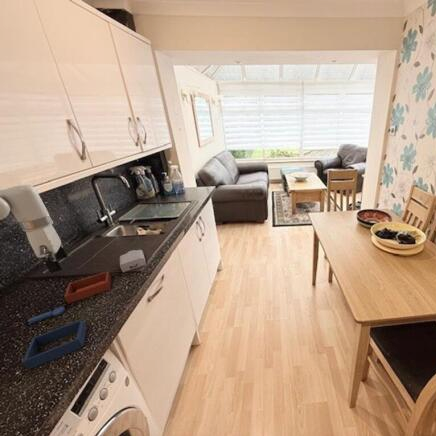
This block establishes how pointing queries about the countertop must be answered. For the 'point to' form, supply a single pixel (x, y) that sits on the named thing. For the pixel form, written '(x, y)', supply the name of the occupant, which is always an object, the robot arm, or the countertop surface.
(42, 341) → the blue bin
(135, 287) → the countertop surface
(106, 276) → the red bin
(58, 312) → the blue spoon
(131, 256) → the charger
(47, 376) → the countertop surface
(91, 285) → the red spoon
